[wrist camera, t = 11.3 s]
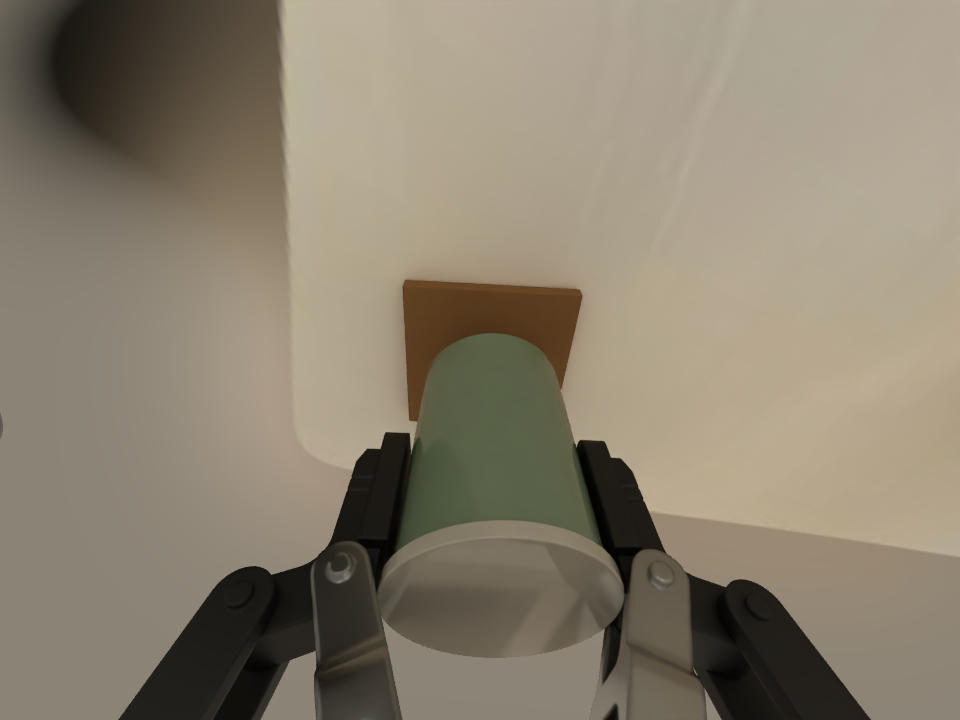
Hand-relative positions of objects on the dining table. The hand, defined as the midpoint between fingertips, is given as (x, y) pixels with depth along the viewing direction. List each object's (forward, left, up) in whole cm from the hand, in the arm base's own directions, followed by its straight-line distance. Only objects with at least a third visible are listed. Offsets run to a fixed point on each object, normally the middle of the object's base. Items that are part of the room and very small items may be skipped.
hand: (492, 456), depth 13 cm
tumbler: (0, 0, -3) cm, 3 cm away
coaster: (0, 0, -6) cm, 6 cm away
